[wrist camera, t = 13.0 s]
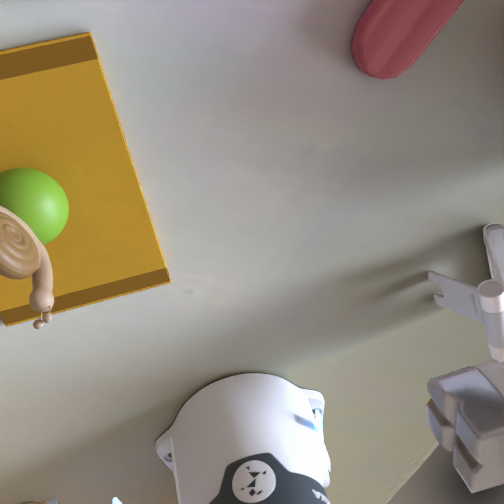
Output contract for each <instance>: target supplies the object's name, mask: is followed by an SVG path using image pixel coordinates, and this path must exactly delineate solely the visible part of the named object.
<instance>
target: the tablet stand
mask: <svg viewBox="0 0 504 504" xmlns="http://www.w3.org/2000/svg"><path fill="white" fill-rule="evenodd" d="M483 233H484V234H483V239H484V243H485V244H486V250H487V255H488V261H489V267H490V272H491V278H492V279H490V280H486V281H483V282H481V283H480V284H479V285H478V287H474V286H471V285H469V284H466V283H463V282H460V281H458V280H455V279H452V278H450V277H447V276H444V275H441V274H439V273H436V272H433V271H429V272H428V277H429V281H431V282H433V283H435V284H437V285H439V286H440V287H441V288H442V292H443V296H442V295H439V294H434V298H435V301H436V303H437V304H438V305H440V306H443V307H445V308H447V309H450V310H452V311H454V312H457V313H459V314H461V315H464V316H466V317H468V318H471V319H473V320H475V321H478V322H480V323H482V324H484V326H485V331H486V335H487V340H488V345H489V350H490V354H491V356H492V358H493V359H495V360H496V361H499V362H504V224H502V223H499V222H494V223H489V224H487V225H486V226H485V227H484V228H483Z"/></svg>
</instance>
